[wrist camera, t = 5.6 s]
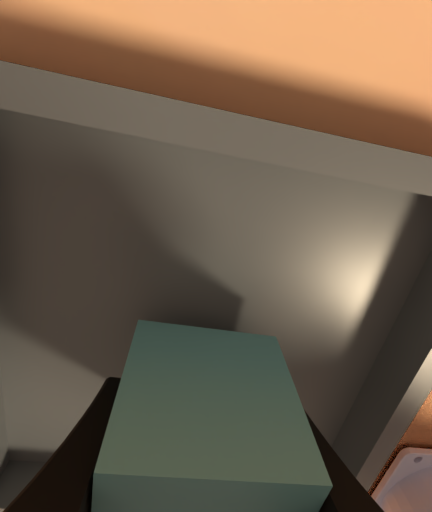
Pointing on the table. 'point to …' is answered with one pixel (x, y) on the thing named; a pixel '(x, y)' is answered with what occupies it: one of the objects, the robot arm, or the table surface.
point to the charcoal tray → (204, 258)
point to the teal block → (207, 428)
